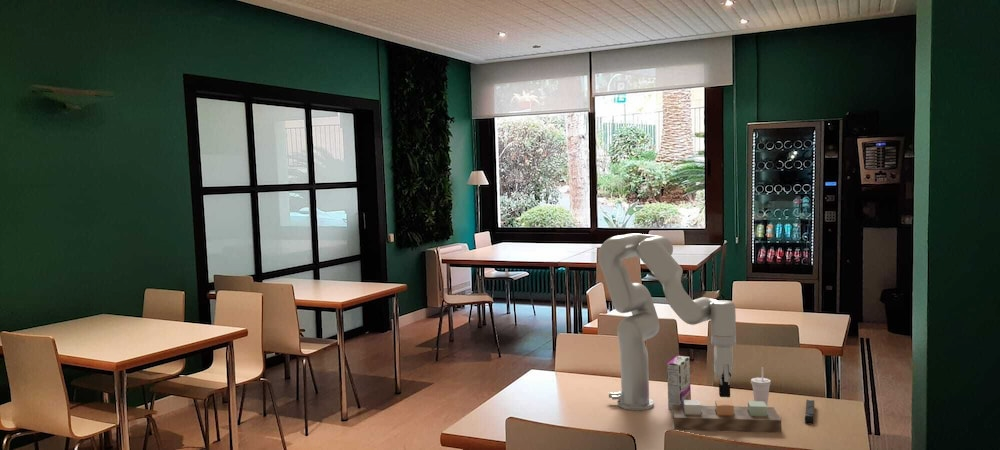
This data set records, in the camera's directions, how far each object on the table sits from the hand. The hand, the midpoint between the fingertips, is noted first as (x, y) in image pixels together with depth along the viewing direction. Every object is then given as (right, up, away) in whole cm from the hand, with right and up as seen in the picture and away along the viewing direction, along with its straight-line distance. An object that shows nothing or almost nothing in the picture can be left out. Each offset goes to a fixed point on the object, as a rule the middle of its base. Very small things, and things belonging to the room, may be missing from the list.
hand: (724, 396), depth 223 cm
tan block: (0, -7, 0) cm, 6 cm away
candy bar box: (-9, -9, +20) cm, 24 cm away
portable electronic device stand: (+30, -8, +6) cm, 32 cm away
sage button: (+10, -6, -1) cm, 12 cm away
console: (0, -9, +1) cm, 9 cm away
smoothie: (+17, -8, +15) cm, 24 cm away
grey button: (-10, -7, +2) cm, 12 cm away
